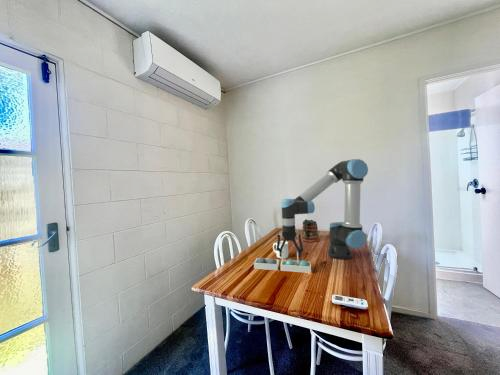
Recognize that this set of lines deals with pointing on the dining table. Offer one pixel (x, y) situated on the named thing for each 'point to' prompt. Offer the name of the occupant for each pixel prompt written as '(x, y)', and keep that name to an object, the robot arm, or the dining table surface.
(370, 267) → the dining table surface
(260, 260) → the charcoal ball
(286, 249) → the cup
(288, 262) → the teal ball
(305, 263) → the teal ball in tray
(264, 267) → the tray grey
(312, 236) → the beer stein
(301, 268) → the tray cream
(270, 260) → the charcoal ball
